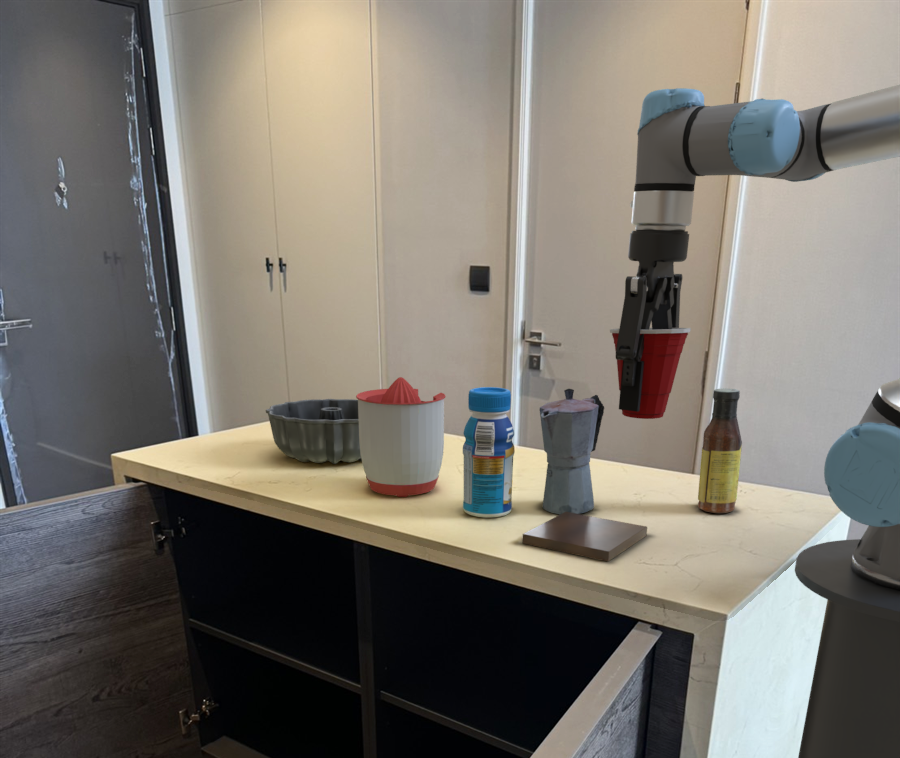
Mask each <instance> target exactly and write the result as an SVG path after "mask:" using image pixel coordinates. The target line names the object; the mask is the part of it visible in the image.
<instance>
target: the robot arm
mask: <svg viewBox="0 0 900 758" xmlns="http://www.w3.org/2000/svg"><path fill="white" fill-rule="evenodd" d="M636 135H637V148H636V166H635V167H636V168H635V183H634V187H633V199H632V200H631V201H630V203H629V207H630V208H631V209H632V212H631V223H630V224H631V225H632V226H635V230H631V232H630V233H629V241H628V242H629V243H628V254H627V258H628V260H629V261H632V262H638V267H637V271H636V274H635V276H626V277H625V282H624V287H625V288H624V299H623V305H622V311H621V316H620V317H621V318H620V323H619V328H618V329H619V335H618V341H617V347H616V351H615V360H616V361H617V360H623V365H622V377H621V388H620V390H619V399H618V400H619V401H618V410H621V411H622V410H628V411H636V412H638V411H640V400H641V390H642V380H643V369H644V361H640V360H641V358H642V354H643V350H644V334H641V335H640V331H641V330H649V328H652V330H660V329H672V328H680V313H681V311H680V310H681V290H682V284H683V274H682V273H675V268H674V266H675V265H674V264H675V263H681V262H685V261H686V260H687V258H688V250H689V241H690V233H689V231H688V230H686V229H687V227H689V226H690V225H691V224H692V219H693V218H692V217H693V207H694V199H695V198H694V197H695V185H696V178H697V177H704V176H707V177H708V176H743V177H755V178H766V179H767V178H768V179H777V180H785V181H788V182H792V183H799V182H806V181H812V180H816V179H818V178H820V177H822V176H823V175H824V174H826V173H830V172H833V171H837V170H842V169H847V168H851V167H856V166H861V165H866V164H870V163H871V164H872V163H876V162H882V161H886V160H890V159H897V158H900V84H896V85H893V86H890V87H885V88H882V89H877V90H874V91H869V92H866V93H863V94H858V95H856V96H851V97H847V98H844V99H841V100H837V101H833V102H830V103H827V104H822V105H819V106H814V107H811V108H807V109H803V110H796V109H795V108H794V105H793V103H792V102H791V101H789V100H787V99H782V98H781V99H766V98H756V99H754V100H750V101H743V102H733V103H725V104H718V105H705V95H704V93H703V92H702V91H701V90H699V89H695V88H684V87H683V88H678V87H677V88H663V89H657V90H653V91H650V92H649V93H647V94H646V95H645V97H644V98H643V100H642V105H641V112H640V119H639V126H638V129H637V134H636ZM861 417H862V418H861V419H860V421H859V422H858V424H856V425H854V426H852V427H850V428H848V429H846V430H845V432H844V433H843V434H840V436H839V437H838V438H837V439H836V440H835V441H834V442H833V443H832V445H831V447H830V448H829V450H828V453H827V455H826V457H825V461H824V467H823V468H824V469H823V475H824V478H823V479H824V484H825V486H826V487H827V491H828V494H829V497H830V499H831V500H832V502H833V503H834V505H835V506H836V507H837V508H838V509H839V510H840V511H841V512H842V513H843V514H845V516H847V517H848V518H850V519H851V520H853V521H855V522H857V523H860V524H862V525H864V526H867V528H866V530H865V532H864V533H863V535H862V536H861V538H860V539H861V540H860V542H859V543H858V545H857V547H856V548H855V551H854V553H853V556H852V561H851V569H852V571H853V572H854V573H855V574H856V575H858V576H859V577H861V578H862V579H864V580H866V581H868V582H871V583H873V584H876V585H878V586H881V587H884V588H888V589H891V590H895V591H900V377H899V378H897V379H894V380H892V381H891V380H890V381H888V382H885V383H883V384H881V385H880V386H879V388H878V389H877V391H876V392H875V395H874V397H873V398H872V400H871V402H870V404H869V405H868V407H867V409H866V410H865V412H864V414H863V415H862V416H861Z"/></svg>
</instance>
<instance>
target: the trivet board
mask: <svg viewBox="0 0 900 758" xmlns="http://www.w3.org/2000/svg"><path fill="white" fill-rule="evenodd" d="M647 535H648V526H646V525H641V524H635V523H631V522H630V523H629V522H625V521H620V520H614V519H607V518H602V517H597V516H592V515H586V514H582V513H580V514H576V513H570V512H564V513H562V514H557V515H556V516H554V517H553V518H551V519H549V520H546V521H545V522H543V523H541V524H539V525H537V526H535V527H534V528H531V529H529V530H527V531H526V532H523V533H522V541H521V543H522V544H524V545H528V546H534V547H538V548H543V549H548V550H553V551H557V552H561V553H566V554H572V555H576V556H581V557H585V558H589V559H595V560H599V561H604V562H610V561H611V560H612V559H614V558H615V557H617V556H618V555H620V554H622V553H623V552H625V551H626V550H627V549H629V548H631V547H632V546H633V545H635V544H636V543H638V542H639V541H641V540H643V539H644V538H645V537H647Z"/></svg>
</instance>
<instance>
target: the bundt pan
mask: <svg viewBox="0 0 900 758" xmlns="http://www.w3.org/2000/svg"><path fill="white" fill-rule="evenodd" d="M265 413H266V414H267V416H268V420H269V425H270V429H271V433H272V438H273V441H274V444H275V445H276V447H277V448H278V449H279V450H280V451H281V452H282V453H283V454H284V455H285V456H287V457H289V458H292V459H295V460H297V461H299V462H302V463H309V462H313V463H316V464H322V463H326V462H330V463H331V464H332V465H336V464H338V463H339V462H340V461H342V462H343V463H354V462H356V461H360V462H362V459H361V454H360V443H359V416H358V399H354V398H353V399H352V398H351V399H350V398H340V399H339V398H324V399H320V398H319V399H317V398H316V399H314V398H313V399H300V400H296V401H285V402H284V403H278V404H272V405H271V406H269V408H266V409H265Z"/></svg>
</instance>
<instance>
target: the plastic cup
mask: <svg viewBox="0 0 900 758" xmlns="http://www.w3.org/2000/svg"><path fill="white" fill-rule="evenodd" d="M619 329H620V328H610V329H609V333H611V336H612V339H613V344H614V351H615V352H616V347H617V341H618V335H619ZM691 330H692V328H691V327H679V328H672V329H660V330H652V327H650V328H649V330H641V331H640V335H641V334H644V350H643V354H642V358H641V360H640V361H644V369H643V380H642V390H641V400H640V411H638V412H636V411H628V410H621V414H622V416H623V417H627V418H632V419H642V420H653V419H655V420H656V419H660V418H663V417H664V416H665V415H664V414H665V412H666V409H667V406H668V402H669V398H670V394H671V393H672V389H673V385H674V381H675V378H676V374H677V370H678V366H679V362H680V359H681V355H682V353H683V349H684V345H685V343H686V339H687V338H688V335H689V333H691ZM622 365H623V360H617V359H616V367H617V379H618V380H617V381H618V390H619V391H620V388H621V377H622Z"/></svg>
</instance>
